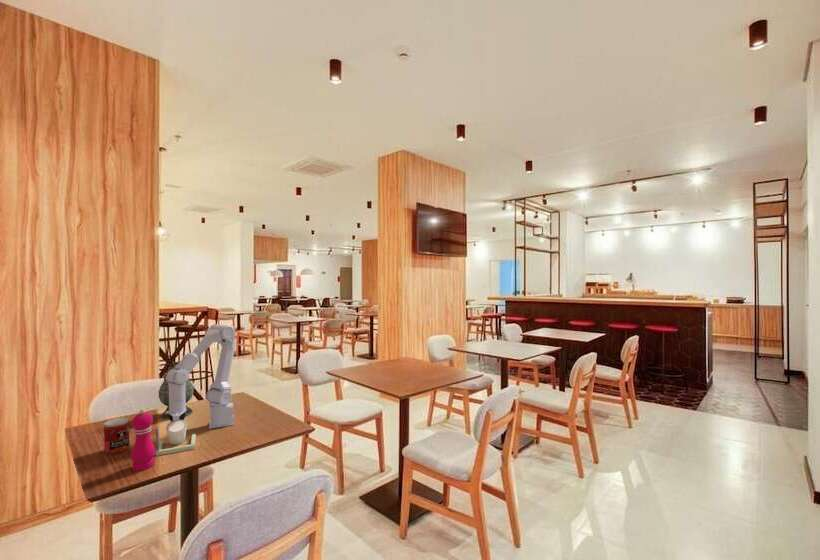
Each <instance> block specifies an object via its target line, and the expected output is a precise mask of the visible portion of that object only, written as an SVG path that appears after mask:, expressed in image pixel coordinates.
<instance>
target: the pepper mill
mask: <svg viewBox="0 0 820 560" xmlns="http://www.w3.org/2000/svg"><path fill="white" fill-rule="evenodd" d="M131 421H132V422H131V425H132V427H133V428H134V429H133V434H134V435H135V441H134V444H133V447H132V449H131V451H130V452H131V453H130V457H129V459H130V460H131V461H132V465H131V466H132V469H131V470H132V471H135V472H137V471H138V472H139V471H145V470H147V469H150V468H152V467H153V466H154V465H155V459H154V457H155V456H156V450H157V449H156V447H155V444H154V442H153V441H152V439H151V435H150V431H151V429H152V424H153V422H154V418H153V415H152V414H151V413H150V412H149V413H148V412H146V409H144V408H141V409H140V410H139V413H137V414H136V415H135V416H134V417H133V418H132V420H131Z"/></svg>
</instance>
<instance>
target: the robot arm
mask: <svg viewBox="0 0 820 560" xmlns="http://www.w3.org/2000/svg"><path fill="white" fill-rule="evenodd" d="M214 343H219V345H221V350H220V353H219V360H218V364H217V370H216V373H215V378H214V382H212V383H211V384H210V385H209V389H208V390H207V392H206V395H205V398H206V400H207V402H208V404H209V419H210V420H209V422H208V423H209V424H208V429H215V428H222V427H228V426H233V425H234V419H235V415H234V403H233V402H231V401H232V386H231V385H230V384H229V380H230V375H231V370H232V365H233V361H234V355H235V351H236V344H237V342H236V330H235V328H234V327H233V326H232V325H230V324H227V325H226V324H217V323H213V324H212V325H211V326H210V327H209V328H208V329H207V330H206V333H205V335H204V336H203V338H202V339H201V341H199V343H198V344H197V345H196V347H195V348H194V349H193V350H192V352H188V353H186V354H184V355H183V356H182V359H181V360H180V361H179V364H178V365H176V366H175V369H171V370H170V371H169V372H168V373H167V372H166V373H167V376H166V377H165V379H166V381H167V382H168V386H169V410H168V411H166V414H170V416H169V419H170V420H169V421H170V422H172V421H177V420H184V421H185V418H186V417H187V416H186V413H185V411H186V406H187V403H186V396H185V382H186V381H187V380H188V378H189V377H190V374H191V372H192V370H193V369H194V368H195V367H196V366H197V365H198V364H199V362H200V357H201V356H202V355H203V354H204V353H205V352H206V351H207V350H208V349H209V348H210V347H211V345H212V344H214ZM189 379H190V378H189ZM185 416H186V417H185Z"/></svg>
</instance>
